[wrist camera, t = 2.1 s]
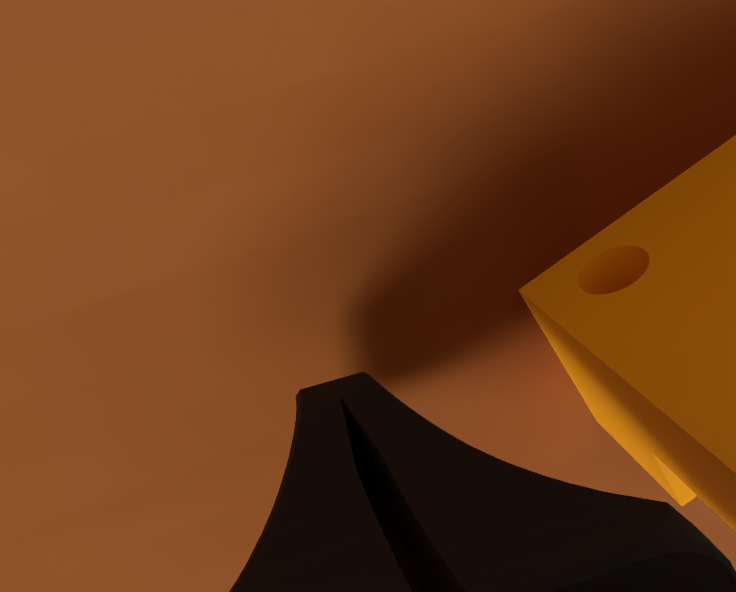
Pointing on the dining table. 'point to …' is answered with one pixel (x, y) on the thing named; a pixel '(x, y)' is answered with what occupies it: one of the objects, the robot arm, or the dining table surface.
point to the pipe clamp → (658, 330)
